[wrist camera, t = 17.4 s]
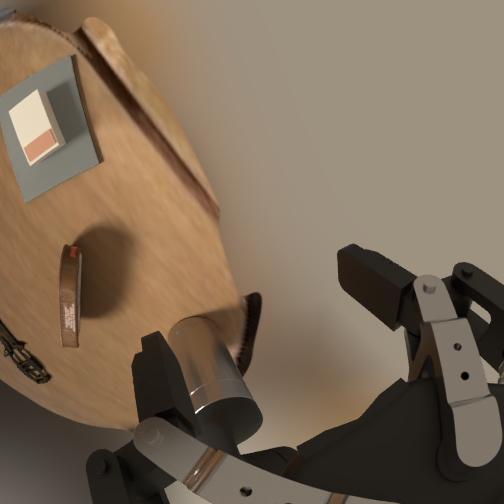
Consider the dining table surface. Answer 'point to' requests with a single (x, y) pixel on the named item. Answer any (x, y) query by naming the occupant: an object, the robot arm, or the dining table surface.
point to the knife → (29, 361)
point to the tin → (70, 295)
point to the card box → (36, 127)
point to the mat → (69, 120)
